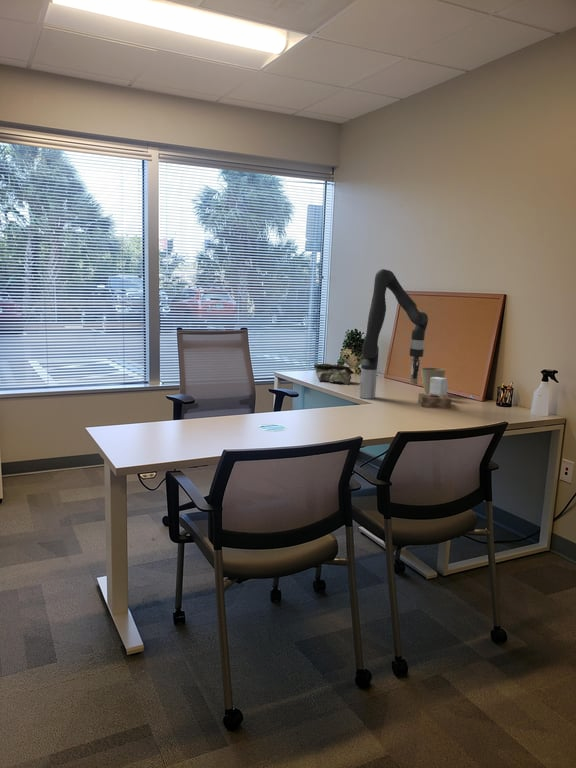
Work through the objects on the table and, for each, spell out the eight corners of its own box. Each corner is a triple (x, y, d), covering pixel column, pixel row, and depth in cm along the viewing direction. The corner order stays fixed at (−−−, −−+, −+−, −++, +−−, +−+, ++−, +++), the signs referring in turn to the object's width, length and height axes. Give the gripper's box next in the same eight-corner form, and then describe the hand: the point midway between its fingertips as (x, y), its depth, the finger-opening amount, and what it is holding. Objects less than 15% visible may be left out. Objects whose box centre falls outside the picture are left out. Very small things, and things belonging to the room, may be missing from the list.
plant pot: (427, 391, 372) (429, 366, 369) (447, 394, 362) (449, 369, 359) (414, 393, 361) (416, 368, 359) (435, 397, 351) (437, 371, 348)
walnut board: (421, 406, 321) (422, 398, 320) (418, 401, 335) (418, 393, 334) (450, 408, 320) (451, 399, 319) (446, 403, 334) (446, 394, 333)
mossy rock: (312, 386, 400) (307, 373, 388) (318, 372, 406) (312, 358, 395) (351, 390, 388) (346, 376, 377) (356, 375, 394) (351, 361, 383)
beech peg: (410, 384, 324) (412, 366, 323) (409, 382, 328) (411, 365, 327) (417, 384, 324) (419, 367, 322) (416, 383, 328) (418, 366, 326)
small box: (446, 400, 344) (448, 378, 341) (439, 401, 340) (441, 379, 337) (435, 397, 350) (436, 376, 348) (428, 398, 346) (430, 377, 344)
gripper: (408, 346, 330) (406, 375, 333) (411, 348, 316) (408, 379, 319) (422, 347, 329) (419, 376, 332) (425, 349, 315) (422, 380, 318)
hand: (414, 377), depth 326 cm, fingers closed on beech peg, 4 cm apart
